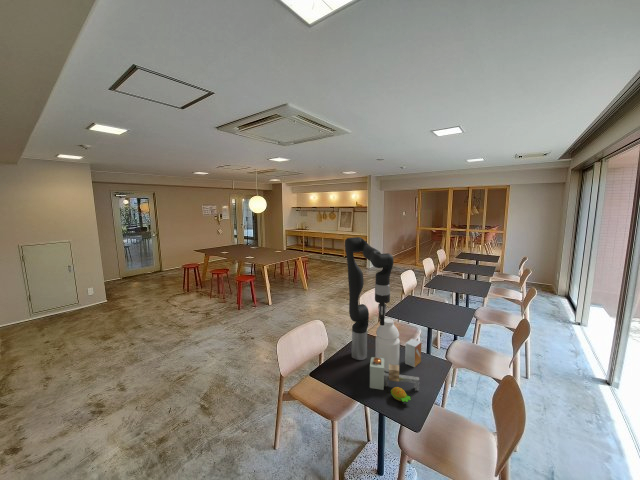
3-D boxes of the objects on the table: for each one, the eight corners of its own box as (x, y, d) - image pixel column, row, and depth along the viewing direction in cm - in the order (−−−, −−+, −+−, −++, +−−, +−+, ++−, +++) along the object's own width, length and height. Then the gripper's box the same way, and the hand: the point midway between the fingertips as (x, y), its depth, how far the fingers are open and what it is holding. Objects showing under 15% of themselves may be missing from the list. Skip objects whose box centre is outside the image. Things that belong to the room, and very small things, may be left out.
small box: (414, 368, 155) (415, 346, 154) (404, 363, 160) (405, 343, 158) (421, 362, 161) (421, 341, 159) (411, 358, 165) (411, 338, 164)
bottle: (397, 359, 164) (397, 315, 161) (401, 373, 151) (402, 325, 147) (373, 358, 166) (374, 315, 162) (376, 371, 152) (376, 325, 149)
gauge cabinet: (369, 387, 139) (369, 366, 137) (371, 377, 147) (371, 356, 146) (383, 390, 137) (383, 368, 136) (384, 379, 146) (384, 358, 144)
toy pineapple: (396, 391, 136) (397, 381, 135) (413, 403, 128) (414, 392, 127) (387, 397, 132) (387, 387, 131) (404, 409, 124) (404, 398, 123)
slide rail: (383, 385, 140) (383, 375, 139) (383, 382, 143) (384, 372, 142) (419, 391, 136) (419, 380, 135) (418, 388, 138) (418, 377, 137)
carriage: (388, 380, 138) (389, 369, 137) (389, 374, 142) (389, 364, 142) (399, 381, 137) (399, 370, 136) (398, 376, 141) (398, 365, 140)
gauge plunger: (373, 377, 140) (373, 361, 139) (373, 372, 144) (373, 357, 143) (380, 378, 139) (381, 362, 138) (381, 373, 143) (381, 358, 142)
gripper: (375, 288, 143) (375, 318, 145) (374, 295, 131) (373, 329, 133) (390, 288, 141) (389, 320, 143) (389, 297, 129) (389, 331, 131)
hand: (382, 324), depth 138 cm, fingers closed
